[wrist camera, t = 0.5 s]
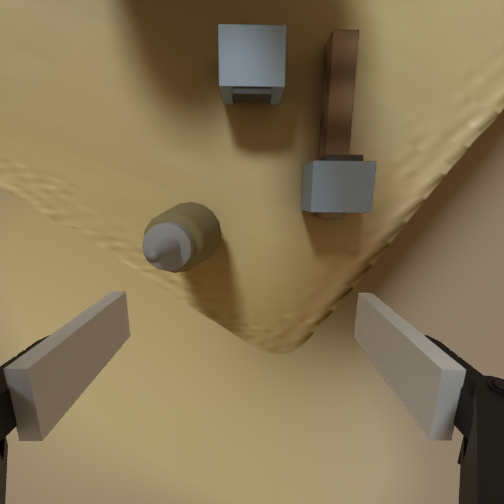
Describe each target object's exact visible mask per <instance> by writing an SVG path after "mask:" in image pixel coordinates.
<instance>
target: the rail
mask: <svg viewBox="0 0 504 504" xmlns="http://www.w3.org/2000/svg"><path fill="white" fill-rule="evenodd" d="M358 37H359V30H336V29H334V30H333V32H332V34H331V36H330V38H329V40H328V42H327V44H326V45H325V57H324V74H323V91H322V108H321V126H320V143H319V160H318V161H320V158H321V157H323V156H325V155H349V149H350V137H351V124H352V112H353V100H354V87H355V75H356V62H357V50H358ZM315 217H318V218H321V219H344V212H315Z"/></svg>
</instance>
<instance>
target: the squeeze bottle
mask: <svg viewBox="0 0 504 504" xmlns="http://www.w3.org/2000/svg"><path fill="white" fill-rule="evenodd" d="M220 238H221V229H220V224H219V221H218V219H217V218H216V216H215V215H214V213H213V212H212V211H211V210H209V209H208V208H206V207H205V206H204V205H201V204H197V203H193V202H188V203H182V204H178V205H176V206H175V207H173V208H171V209H169V210H167V211H165V212H163V213H162V214H160V215H159V216H157V217H155V218H154V219H152V220H151V222H150V223H149V225H148V226H147V228H146V229H145V234H144V239H143V245H142V247H143V251H144V255H145V257H146V259H147V261H149V263H150V264H152V265H153V266H155V267H156V268H158V269H161V270H165V271H170V272H174V273H176V272H183V271H187V270H189V269H191V268H192V267H194V266H196V265H197V264H199V263H200V262H202V261H203V260H205V259H206V258H207V257H209V256H210V255H212V254H213V252H214V251H215V250H216V248H217V247H218V246H219V242H220Z"/></svg>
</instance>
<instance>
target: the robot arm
mask: <svg viewBox="0 0 504 504" xmlns="http://www.w3.org/2000/svg"><path fill="white" fill-rule="evenodd" d="M129 337H130V330H129V320H128V310H127V300H126V292H115V291H114V292H113V291H112V292H110V293H109V294H108V295H106V296H105V297H104V298H102V299H101V300H99V301H98V302H97V303H95V304H94V305H92V306H91V307H89V308H88V309H87V310H85V311H84V312H82V313H81V314H80V315H78V316H77V317H75V318H74V319H73V320H71V321H70V322H68V323H67V324H66V325H64V326H63V327H62V328H60V329H59V330H57V331H56V332H54V333H53V334H52V335H49V336H47V337H45V338H43V339H41V340H39V341H37V342H35V343H34V344H32V345H31V346H29V347H28V348H26V350H24V351H22V352H21V353H19V354H18V355H17V357H13V358H12V359H11V360H9V361H8V362H6V363H5V364H3V365H2V366H0V504H5V494H6V473H7V453H8V452H7V451H8V444H7V440H6V436H7V435H8V434H9V433H10V432H11V431H12V430H13V429H14V428H15V427H17V432H18V436H19V440H20V441H43V439H44V438H45V437H46V436H47V435H48V434H49V432H50V431H51V430H52V429H53V428H54V426H55V425H56V424H57V423H58V422H59V420H60V419H61V418H62V417H63V416H64V414H65V413H66V412H67V411H68V409H69V408H70V407H71V406H72V405H73V404H74V403H75V401H76V400H77V399H78V398H79V397H80V395H81V394H82V393H83V392H84V390H85V389H86V388H87V387H88V386H89V385H90V383H91V382H92V381H93V380H94V379H95V377H96V376H97V375H98V374H99V373H100V371H101V370H102V369H103V368H104V367H105V365H106V364H107V363H108V362H109V361H110V359H111V358H112V357H113V356H114V355H115V354H116V352H117V351H118V350H119V349H120V347H121V346H122V345H123V344H124V343H125V342H126V340H127V339H128V338H129ZM354 338H355V339H356V341H357V342H358V343H359V345H360V346H361V348H362V349H363V350H364V352H365V353H366V354H367V355H368V357H369V359H370V360H371V361H372V363H373V364H374V365H375V367H376V368H377V369H378V371H379V372H380V373H381V375H382V376H383V378H384V379H385V381H386V382H387V383H388V385H389V386H390V387H391V389H392V390H393V392H394V393H395V394H396V396H397V397H398V398H399V400H400V401H401V402H402V404H403V405H404V407H405V408H406V409H407V411H408V412H409V413H410V415H411V416H412V418H413V419H414V420H415V422H416V423H417V425H418V426H419V427H420V429H421V430H422V431H423V433H424V434H425V436H426V437H427V438H428V440H451V439H452V434H453V430H454V425H455V426H456V427H457V428H458V429H459V431H460V432H461V433H462V434H463V435H464V437H463V441H462V445H461V450H460V454H459V459H458V464H460V465H461V468H460V488H459V504H504V379H501V378H497V377H493V376H483V375H482V374H481V373H479V372H478V371H477V370H476V369H474V368H473V367H472V366H471V365H469V364H468V363H467V362H465V361H464V360H463V359H462V358H460V357H458V356H457V355H456V354H455V353H454V352H453V351H450V349H449V348H447V347H446V346H445V345H444V344H442V343H441V342H439V341H437V340H435V339H434V338H431V337H430V336H428V335H427V336H426V335H423V334H421V333H420V332H419V331H418V330H417V329H415V328H414V327H413V326H412V325H411V324H409V323H408V322H407V321H406V320H404V319H403V318H402V317H401V316H399V315H398V314H397V313H396V312H395V311H393V310H392V309H391V308H390V307H388V306H387V305H386V304H385V303H384V302H382V301H381V300H380V299H379V298H377V297H376V296H375V295H374V294H372V293H358V301H357V311H356V320H355V330H354Z"/></svg>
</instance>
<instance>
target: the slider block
mask: <svg viewBox="0 0 504 504" xmlns="http://www.w3.org/2000/svg"><path fill="white" fill-rule="evenodd" d="M375 170H376V161H363V155H325V156H323V157H321V158H320V161H312V162H310V163H308V164H307V165H305V166H303V184H302V206H301V210H304V211H308V212H346V213H371V209H372V199H373V189H374V179H375Z"/></svg>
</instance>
